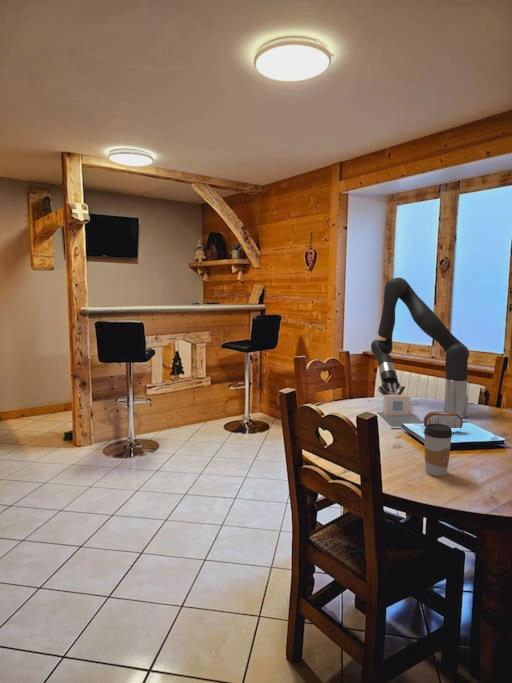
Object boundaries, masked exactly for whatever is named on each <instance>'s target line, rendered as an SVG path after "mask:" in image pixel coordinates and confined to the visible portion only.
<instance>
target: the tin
mask: <svg viewBox="0 0 512 683" xmlns="http://www.w3.org/2000/svg"><path fill="white" fill-rule="evenodd" d="M423 422H424V426H423V427H424V428H426V425H427V424H442V425H446V426H449V427H450V428H461V429H462V427H463V426H464V425H463V423H464V421H463V418H461V417H460V416H459V415H458V414H456V413H454V412H444V411H431V412H427V414H426V415H424V417H423Z"/></svg>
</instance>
